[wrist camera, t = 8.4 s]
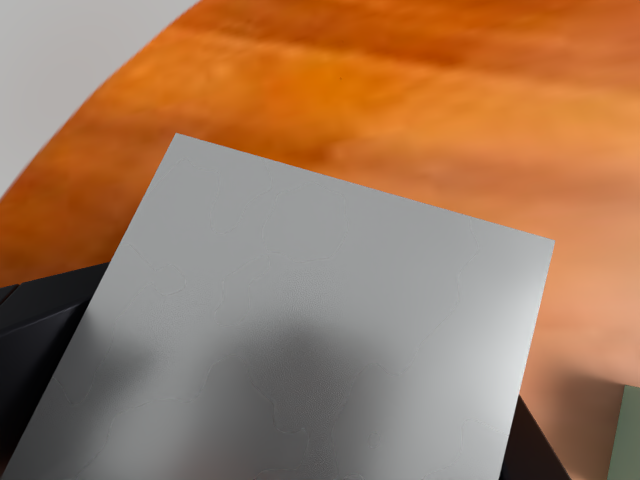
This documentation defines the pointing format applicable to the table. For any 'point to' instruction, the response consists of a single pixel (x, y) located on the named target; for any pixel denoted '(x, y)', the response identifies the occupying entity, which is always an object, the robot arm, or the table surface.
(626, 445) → the pale green block
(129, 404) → the silver grey block
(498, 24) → the table surface
